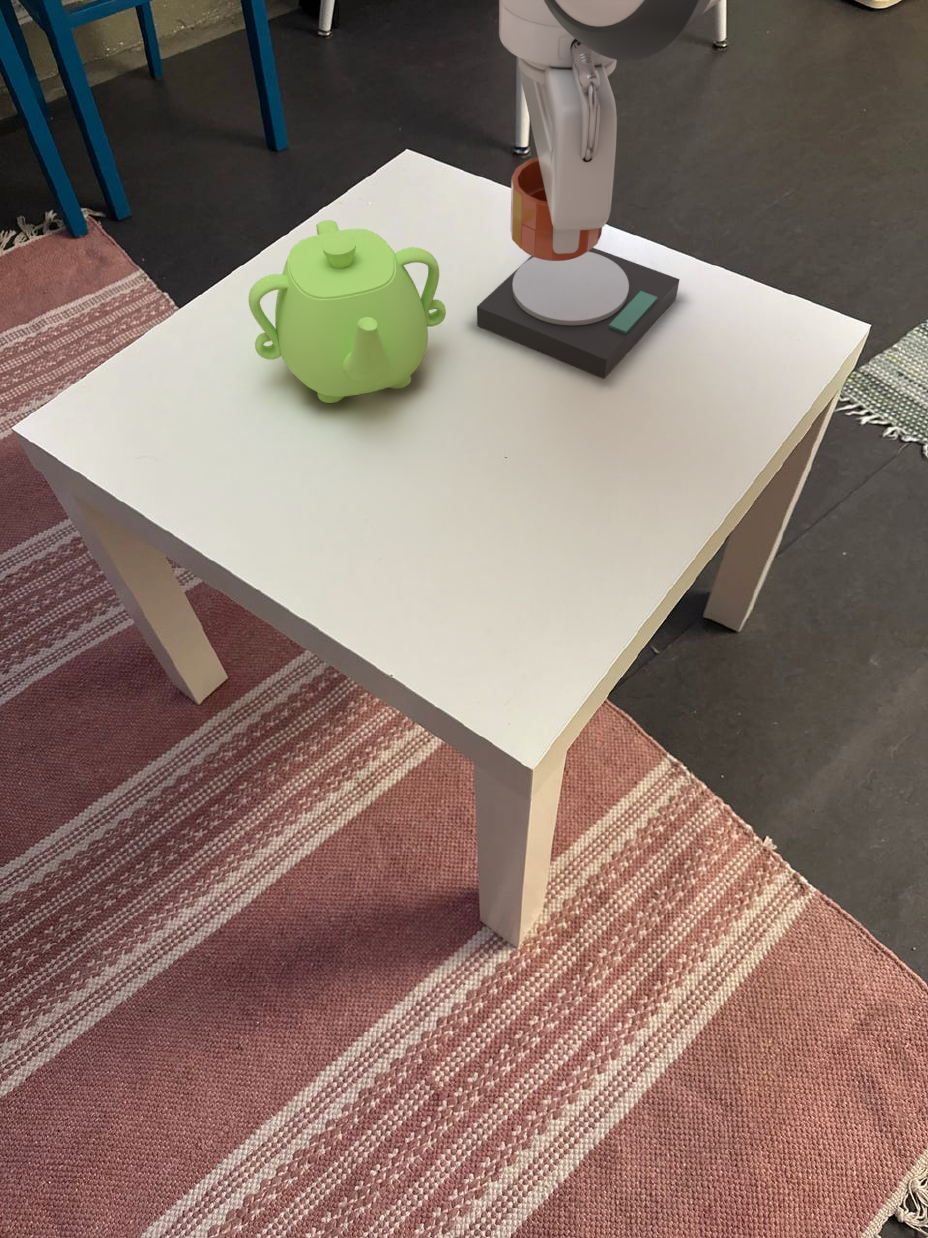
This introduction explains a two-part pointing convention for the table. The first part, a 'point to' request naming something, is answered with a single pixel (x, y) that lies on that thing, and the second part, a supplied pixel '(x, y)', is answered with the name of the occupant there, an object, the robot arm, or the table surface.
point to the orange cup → (538, 217)
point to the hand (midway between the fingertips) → (556, 214)
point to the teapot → (348, 312)
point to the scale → (579, 308)
